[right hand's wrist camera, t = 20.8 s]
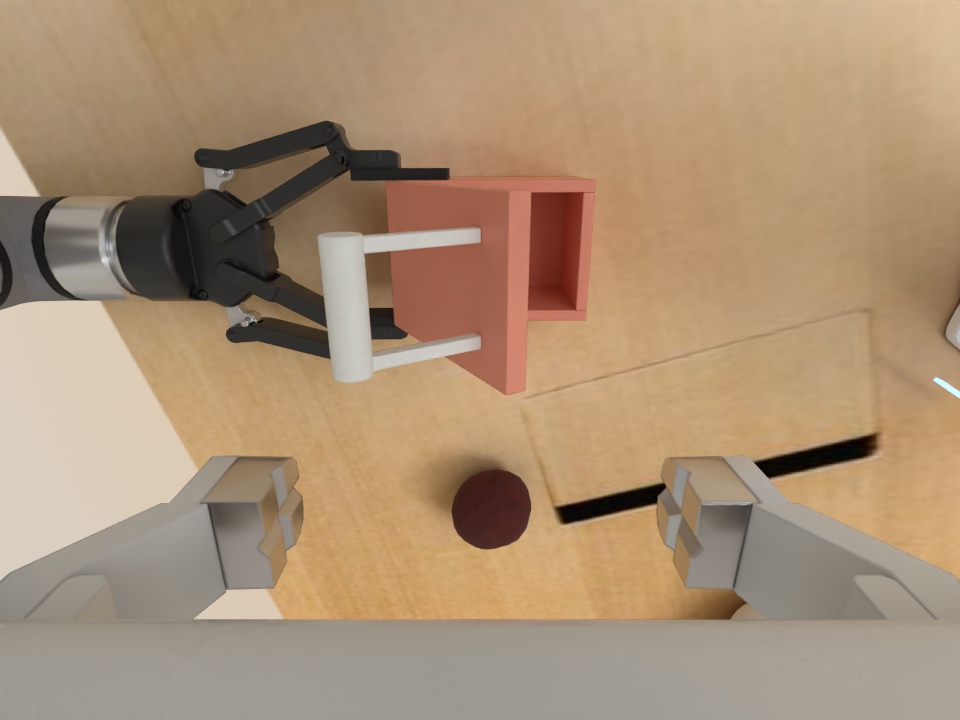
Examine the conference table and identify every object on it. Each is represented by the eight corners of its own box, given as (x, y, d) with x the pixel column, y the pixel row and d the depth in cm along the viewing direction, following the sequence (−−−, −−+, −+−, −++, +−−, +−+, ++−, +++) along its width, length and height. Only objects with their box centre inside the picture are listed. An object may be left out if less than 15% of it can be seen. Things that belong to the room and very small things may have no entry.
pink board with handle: (531, 190, 23) (332, 197, 19) (526, 391, 27) (356, 436, 22) (402, 180, 34) (259, 184, 30) (409, 322, 38) (282, 343, 34)
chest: (574, 176, 43) (596, 179, 35) (567, 292, 46) (586, 320, 38) (411, 176, 43) (395, 180, 35) (417, 293, 46) (403, 321, 38)
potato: (439, 488, 53) (433, 534, 47) (493, 440, 51) (495, 482, 45) (490, 530, 55) (491, 581, 48) (544, 486, 53) (554, 532, 47)
